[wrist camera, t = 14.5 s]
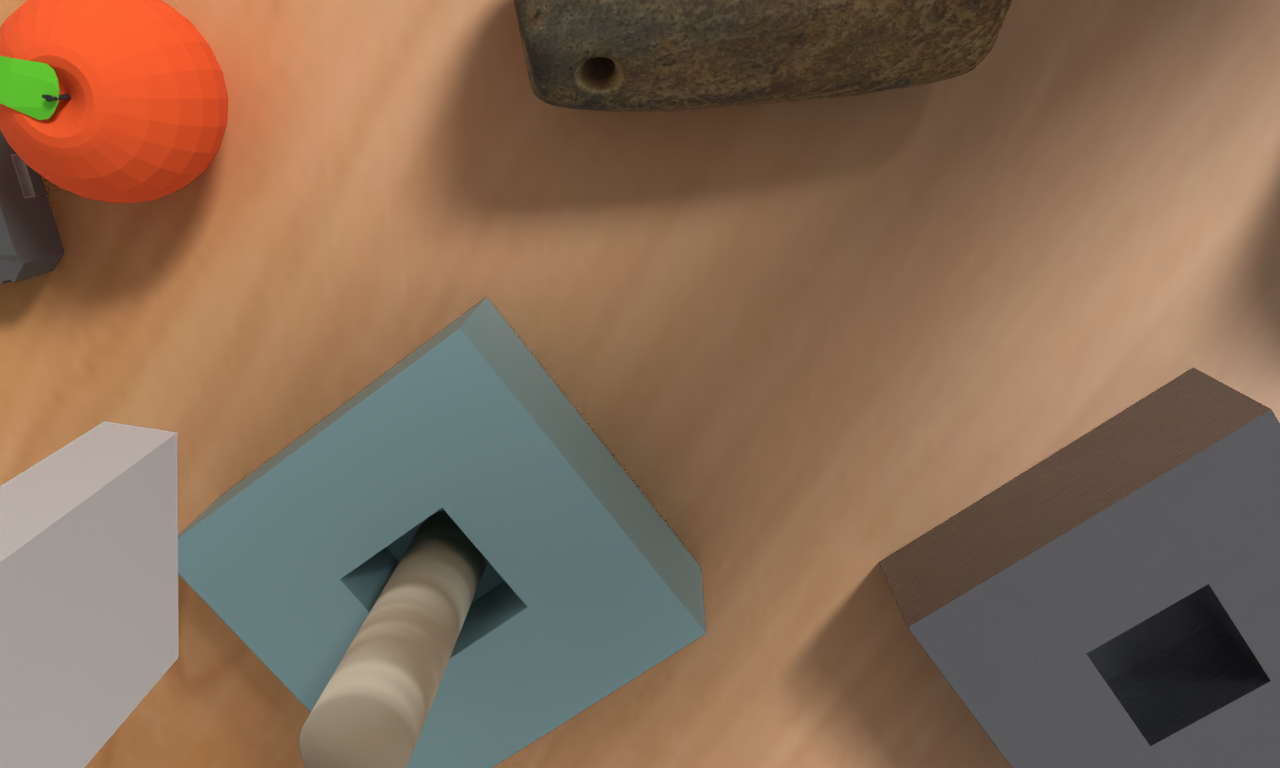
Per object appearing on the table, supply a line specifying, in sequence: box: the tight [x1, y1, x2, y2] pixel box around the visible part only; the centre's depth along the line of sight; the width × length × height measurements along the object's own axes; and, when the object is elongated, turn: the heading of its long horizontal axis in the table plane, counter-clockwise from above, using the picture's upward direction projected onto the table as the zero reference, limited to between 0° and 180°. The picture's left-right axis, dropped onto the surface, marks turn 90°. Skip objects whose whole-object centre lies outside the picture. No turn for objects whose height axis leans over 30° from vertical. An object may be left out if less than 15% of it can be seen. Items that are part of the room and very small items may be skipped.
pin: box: [299, 510, 488, 768], centre depth 33 cm, size 3×3×13 cm
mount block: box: [879, 368, 1280, 768], centre depth 38 cm, size 14×14×5 cm
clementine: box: [0, 0, 228, 203], centre depth 32 cm, size 8×7×7 cm
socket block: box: [178, 297, 706, 768], centre depth 38 cm, size 14×14×5 cm
